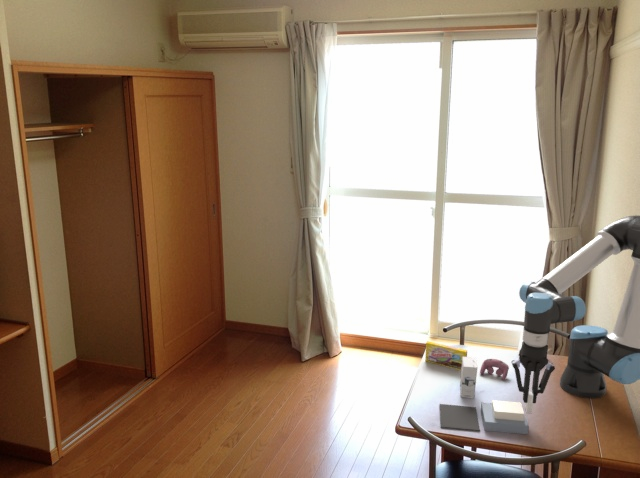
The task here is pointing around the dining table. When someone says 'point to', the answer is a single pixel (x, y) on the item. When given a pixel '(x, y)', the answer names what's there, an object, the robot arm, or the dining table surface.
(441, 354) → the candy box
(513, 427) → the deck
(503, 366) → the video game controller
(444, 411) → the mat
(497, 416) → the tile
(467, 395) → the ink box
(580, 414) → the dining table surface
